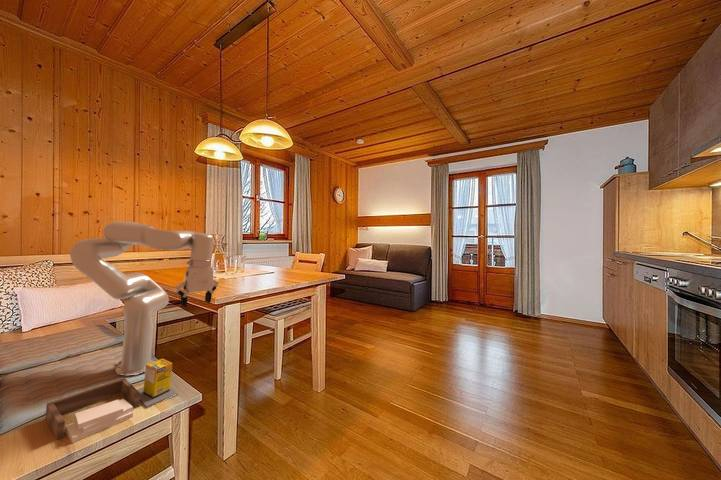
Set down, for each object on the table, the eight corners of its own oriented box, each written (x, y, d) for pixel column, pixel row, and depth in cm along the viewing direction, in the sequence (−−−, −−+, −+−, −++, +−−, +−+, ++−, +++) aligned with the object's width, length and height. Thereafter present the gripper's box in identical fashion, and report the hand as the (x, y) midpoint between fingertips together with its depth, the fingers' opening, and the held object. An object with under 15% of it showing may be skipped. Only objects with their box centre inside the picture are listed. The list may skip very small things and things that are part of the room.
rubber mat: (131, 392, 101) (131, 391, 101) (162, 381, 110) (162, 380, 110) (146, 408, 95) (146, 406, 95) (178, 394, 104) (178, 393, 104)
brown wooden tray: (45, 418, 85) (46, 403, 85) (123, 391, 101) (124, 377, 101) (57, 440, 79) (58, 423, 78) (138, 406, 95) (139, 392, 95)
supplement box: (170, 390, 104) (173, 362, 104) (153, 399, 99) (156, 369, 98) (159, 385, 106) (162, 357, 106) (142, 393, 101) (145, 364, 100)
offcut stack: (64, 430, 82) (65, 415, 82) (124, 406, 94) (125, 393, 94) (72, 443, 78) (73, 428, 78) (133, 417, 90) (135, 403, 90)
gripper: (182, 266, 105) (178, 310, 106) (225, 264, 119) (221, 302, 120) (172, 262, 108) (168, 305, 109) (215, 260, 123) (211, 298, 124)
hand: (196, 304), depth 115 cm, fingers open, 9 cm apart
